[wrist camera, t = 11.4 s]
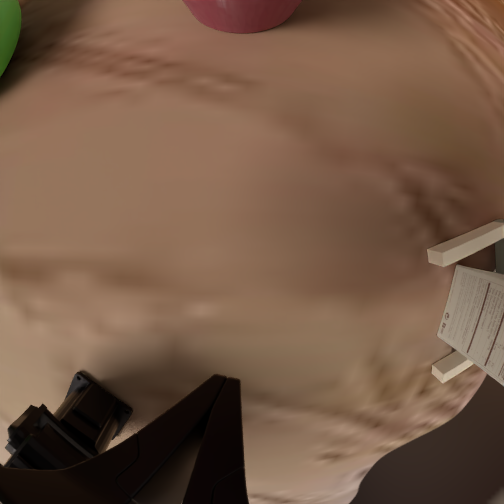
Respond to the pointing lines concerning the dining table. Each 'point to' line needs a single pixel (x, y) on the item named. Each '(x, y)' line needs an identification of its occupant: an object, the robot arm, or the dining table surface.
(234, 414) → the robot arm
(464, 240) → the bay
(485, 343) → the supplement box
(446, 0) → the dining table surface
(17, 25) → the toy bird
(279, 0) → the plant pot
